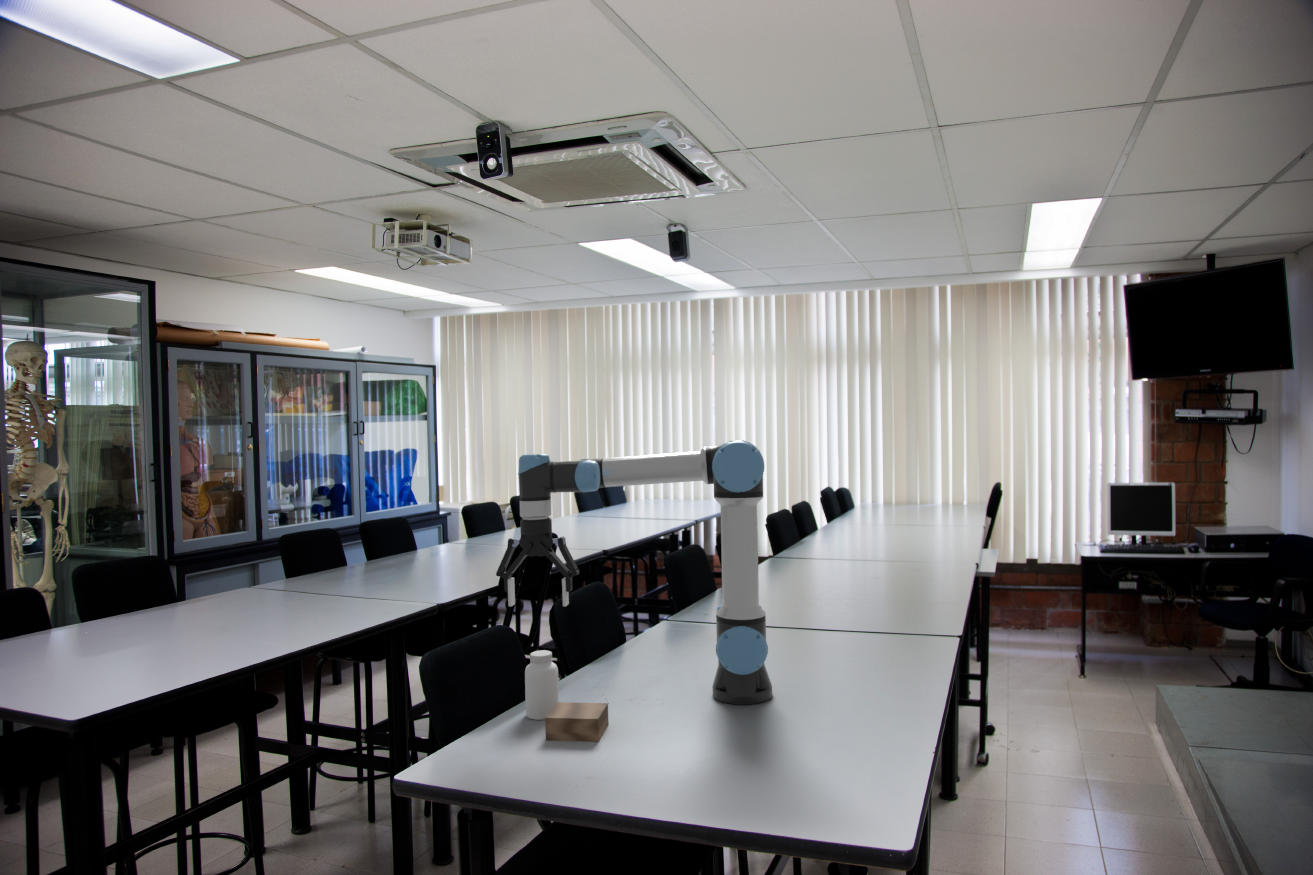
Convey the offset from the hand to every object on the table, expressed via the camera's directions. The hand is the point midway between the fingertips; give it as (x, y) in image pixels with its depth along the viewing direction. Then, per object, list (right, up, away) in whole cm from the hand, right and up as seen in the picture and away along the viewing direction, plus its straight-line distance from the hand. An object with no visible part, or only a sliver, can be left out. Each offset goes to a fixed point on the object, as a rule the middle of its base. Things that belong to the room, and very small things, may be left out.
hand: (538, 605), depth 185 cm
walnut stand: (+11, -26, -12) cm, 31 cm away
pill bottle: (+1, -27, 0) cm, 27 cm away
